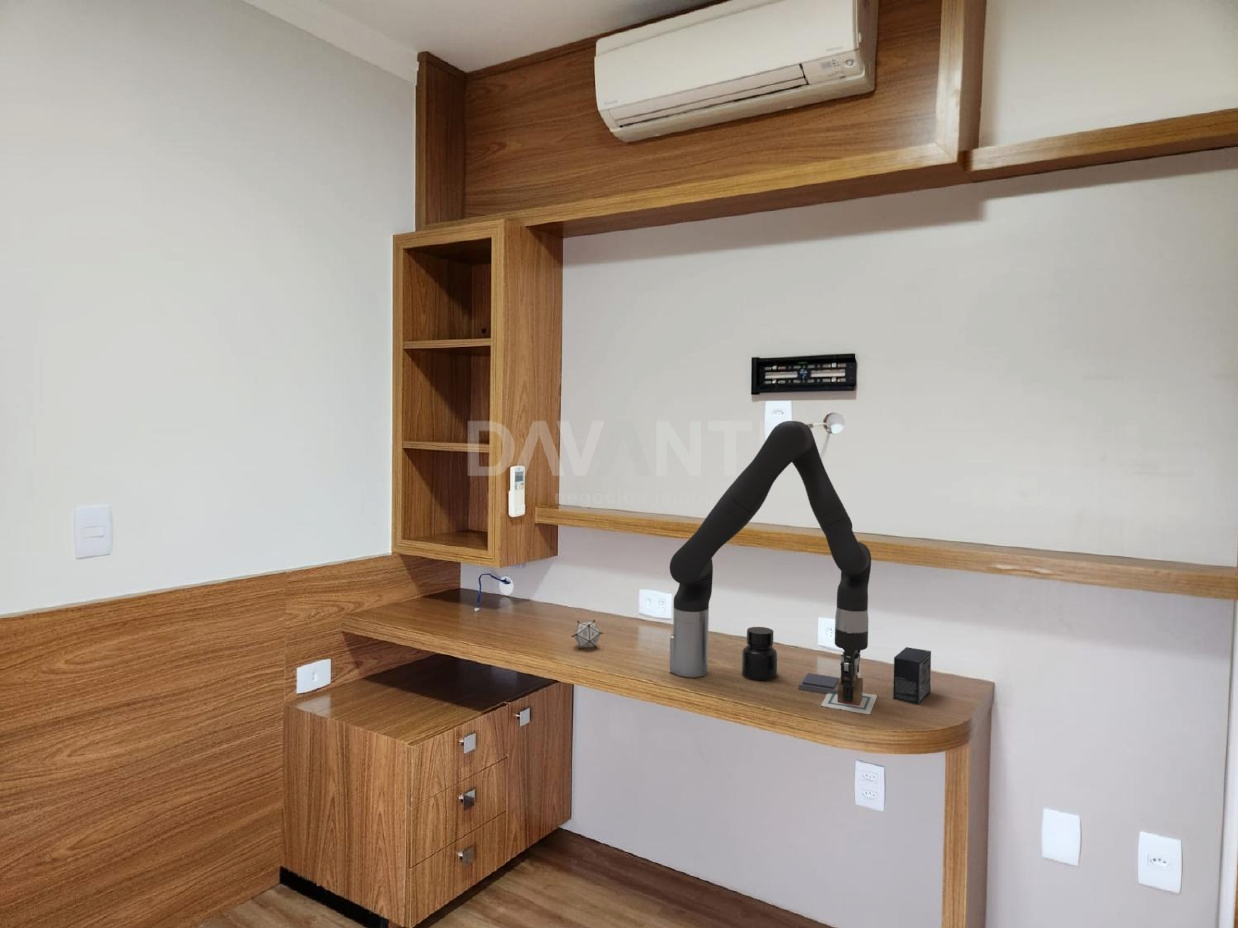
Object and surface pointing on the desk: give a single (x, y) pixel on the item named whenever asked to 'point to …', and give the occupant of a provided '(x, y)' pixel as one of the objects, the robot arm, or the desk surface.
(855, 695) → the stamp
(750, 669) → the ink bottle
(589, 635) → the game die
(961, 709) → the desk surface
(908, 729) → the desk surface
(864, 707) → the sheet
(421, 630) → the desk surface
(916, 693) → the small box
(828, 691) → the ink pad
